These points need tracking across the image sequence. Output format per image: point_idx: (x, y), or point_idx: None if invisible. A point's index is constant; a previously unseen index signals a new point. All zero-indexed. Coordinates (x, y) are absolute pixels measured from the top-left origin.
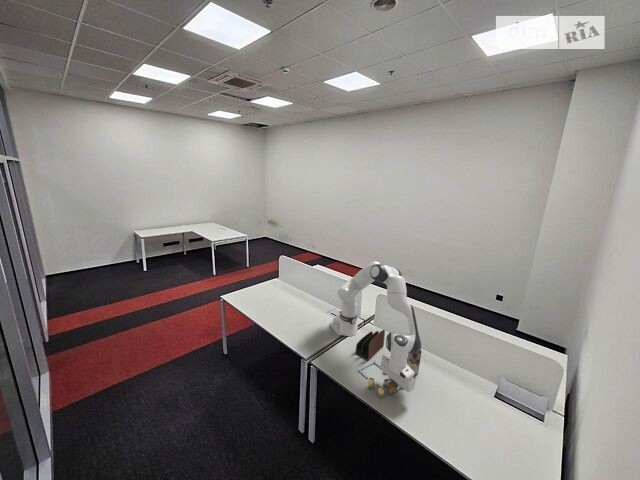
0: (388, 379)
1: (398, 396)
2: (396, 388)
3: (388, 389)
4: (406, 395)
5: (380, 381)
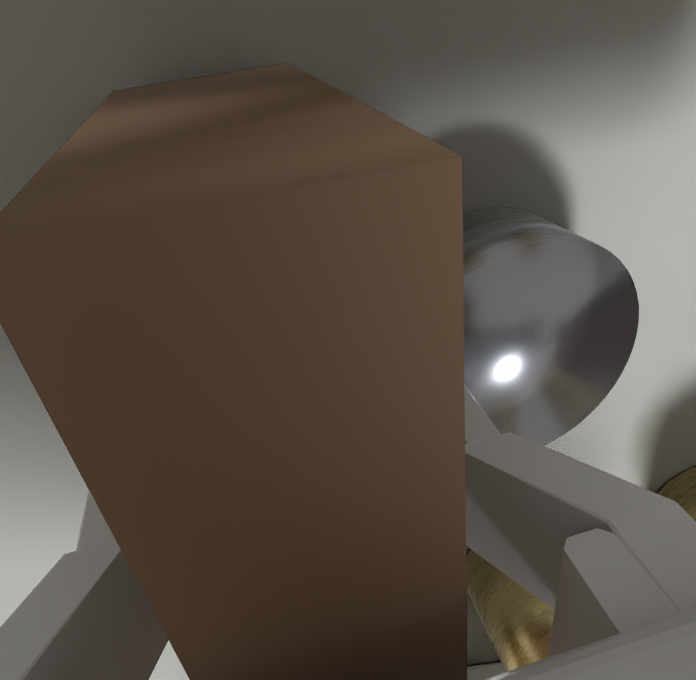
0: (573, 410)
1: (14, 351)
2: None
3: (199, 105)
4: (3, 540)
5: (659, 192)
